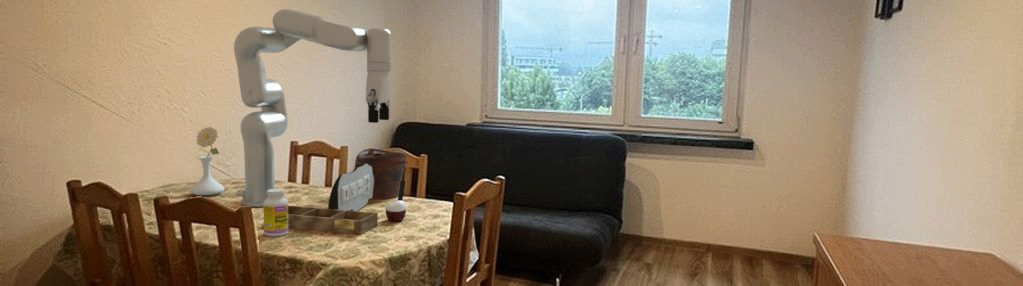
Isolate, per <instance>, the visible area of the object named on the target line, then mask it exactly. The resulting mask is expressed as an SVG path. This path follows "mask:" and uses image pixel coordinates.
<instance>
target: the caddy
mask: <svg viewBox="0 0 1023 286" xmlns="http://www.w3.org/2000/svg"><path fill="white" fill-rule="evenodd" d="M376 227H378V212H373V211H372V212H369V211H360V210H358V211H350V210H338V209H328V208H325V207H324V208H323V207H322V208H321V207H315V206H314V207H311V206H300V205H289V204H288V229H295V230H297V229H298V230H304V231H305V230H306V231H317V232H325V233H326V232H327V233H328V232H329V233H339V234H347V235H348V234H350V235H351V234H352V235H358V236H359V235H364V234H366V233H367V232H369V231H371V230H372V229H373V228H376Z"/></svg>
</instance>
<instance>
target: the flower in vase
mask: <svg viewBox="0 0 1023 286" xmlns="http://www.w3.org/2000/svg"><path fill="white" fill-rule="evenodd" d="M218 137H219V136H218V130H217V129H216V128H214V127H212V126H208V127H207V126H206V127H204V129H203V128H202V129H200V131H199V132H198V134H197V135H196V145H198V146H199V149H200V150H201V151H203V152H205V153H206V154H207V155H201V156H198V159H199V160H200V161H201V164H202V171H203V173H202V177H201V178H200V179H199V180H198V181H197V182H195V184H194V185H192V186H191V188H189V192H190V193H191V194H193V195H196V196H214V195H217V194H220V193H223V192H224V190H225V187H224V186H223V185H222V184H221V183H220V182H218V181H217V180H216V179H214V178H213V177H212V174H211V163H212V160H213V159H214V158H215V155H220V151H219V150H218V148H216V147H214V148H213V145H214V144H215V143H214V142H216V141H217V138H218ZM208 146H209V147H210V150H209V151H207V150H205V149H204V148H207V147H208ZM210 154H211V155H210Z"/></svg>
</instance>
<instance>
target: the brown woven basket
mask: <svg viewBox="0 0 1023 286" xmlns="http://www.w3.org/2000/svg"><path fill="white" fill-rule="evenodd" d="M364 164H368V165H369V166H371V167H372V172H373V176H374V187H373V197H372V199H375V200H386V199H394V198H398V194H399V188H400V181H401V180H403V177H404V171H405V166H406V165H408V164H409V162H408V159H407V155H406V153H405V152H404V151H402V150H392V151H388V150H384V149H381V148H380V149H379V148H371V147H370V148H365V149H363V150H361V151H360V152H359V153H358V154H357V155H356V158H355V161H354V168H353V170H354V169H355V168H358V167H361V166H363V165H364Z"/></svg>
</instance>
